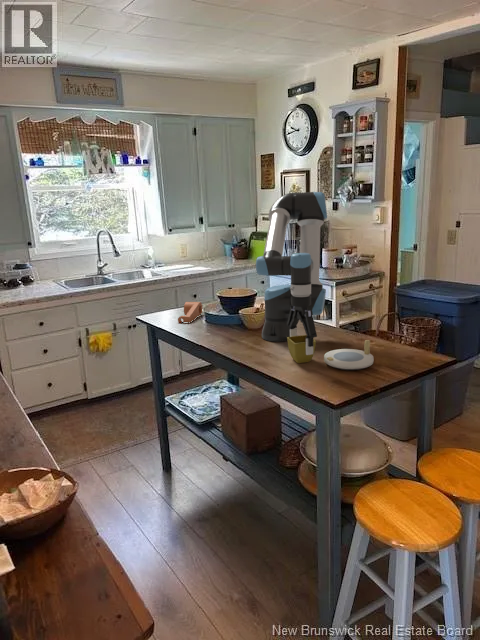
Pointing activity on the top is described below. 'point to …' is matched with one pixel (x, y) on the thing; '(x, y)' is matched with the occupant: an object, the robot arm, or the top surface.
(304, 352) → the flower pot
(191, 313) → the crank
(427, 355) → the top surface
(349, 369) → the turntable base
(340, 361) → the disc
